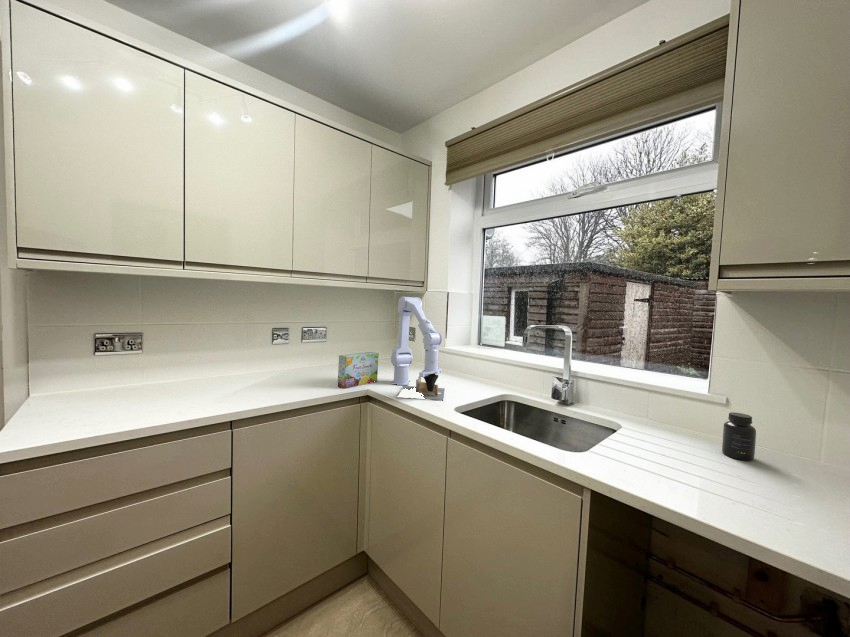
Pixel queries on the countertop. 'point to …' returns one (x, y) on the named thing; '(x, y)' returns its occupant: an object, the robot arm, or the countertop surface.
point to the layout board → (427, 396)
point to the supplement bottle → (739, 437)
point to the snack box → (357, 369)
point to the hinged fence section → (424, 390)
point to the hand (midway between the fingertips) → (430, 391)
